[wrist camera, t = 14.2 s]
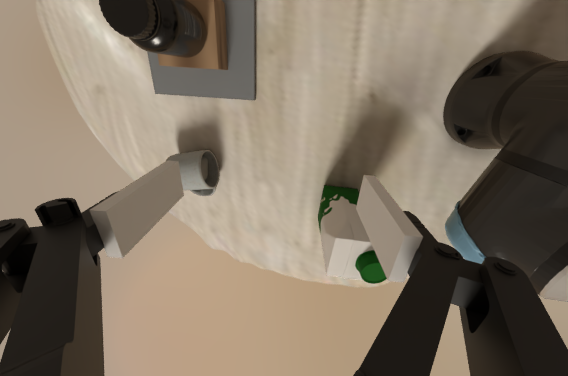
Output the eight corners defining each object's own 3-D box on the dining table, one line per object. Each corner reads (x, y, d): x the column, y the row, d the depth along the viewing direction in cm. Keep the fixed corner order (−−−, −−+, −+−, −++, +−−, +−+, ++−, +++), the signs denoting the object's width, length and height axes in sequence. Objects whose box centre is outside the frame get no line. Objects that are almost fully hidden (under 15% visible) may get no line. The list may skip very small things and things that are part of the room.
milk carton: (352, 219, 51) (382, 296, 33) (313, 215, 51) (321, 289, 33) (362, 185, 47) (402, 251, 29) (320, 180, 47) (333, 243, 29)
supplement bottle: (168, -13, 29) (93, -66, 18) (215, 20, 30) (171, -11, 20) (153, 40, 32) (80, 21, 21) (197, 68, 33) (149, 64, 23)
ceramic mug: (174, 150, 46) (153, 163, 39) (212, 144, 45) (196, 157, 38) (192, 194, 50) (176, 213, 44) (227, 190, 49) (215, 209, 43)
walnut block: (224, 2, 34) (213, -9, 29) (227, 70, 38) (218, 69, 33) (166, -1, 34) (146, -13, 29) (175, 66, 38) (159, 65, 33)
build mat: (255, -33, 32) (253, -36, 31) (255, 99, 40) (254, 100, 40) (134, -39, 33) (129, -42, 32) (158, 93, 41) (155, 93, 40)
